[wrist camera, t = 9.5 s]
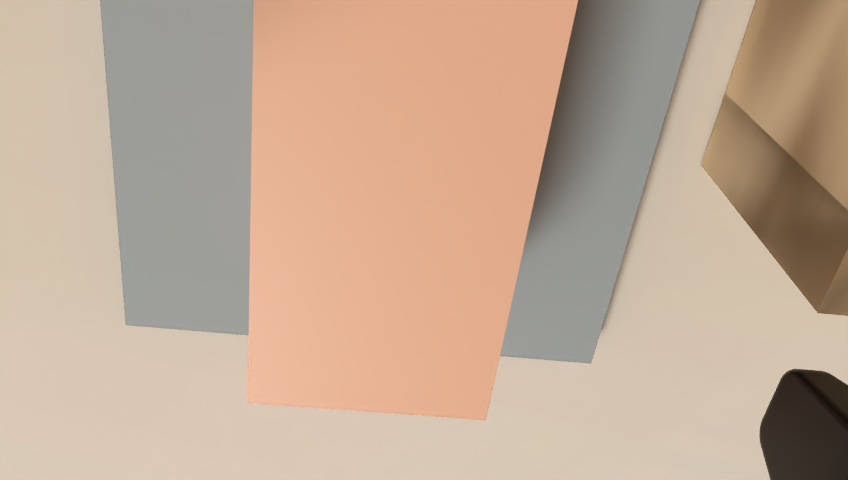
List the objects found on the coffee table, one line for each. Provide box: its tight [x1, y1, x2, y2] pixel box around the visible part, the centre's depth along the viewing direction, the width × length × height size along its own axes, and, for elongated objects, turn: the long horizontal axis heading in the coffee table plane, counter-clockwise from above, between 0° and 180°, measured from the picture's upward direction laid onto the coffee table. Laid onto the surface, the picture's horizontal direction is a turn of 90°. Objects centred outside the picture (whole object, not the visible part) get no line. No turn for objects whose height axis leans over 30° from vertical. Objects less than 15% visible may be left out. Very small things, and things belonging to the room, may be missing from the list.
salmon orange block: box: [248, 0, 578, 420], centre depth 12 cm, size 9×4×4 cm, turn 173°
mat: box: [100, 0, 700, 363], centre depth 15 cm, size 10×10×1 cm
